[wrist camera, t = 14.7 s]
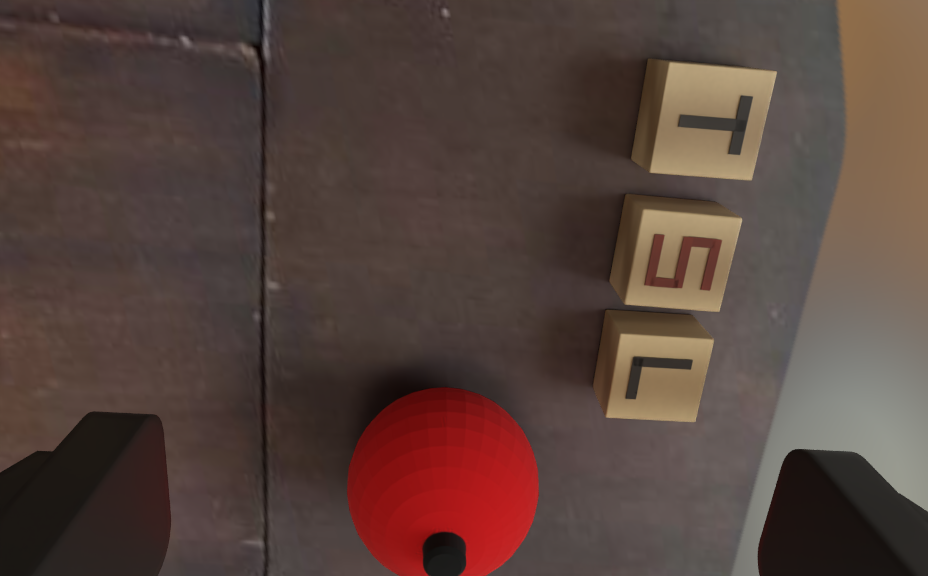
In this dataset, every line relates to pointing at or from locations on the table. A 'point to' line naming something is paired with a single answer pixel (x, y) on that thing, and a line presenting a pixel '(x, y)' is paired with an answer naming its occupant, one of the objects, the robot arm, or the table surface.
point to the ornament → (442, 484)
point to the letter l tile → (651, 365)
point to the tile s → (674, 252)
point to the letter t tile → (701, 119)
